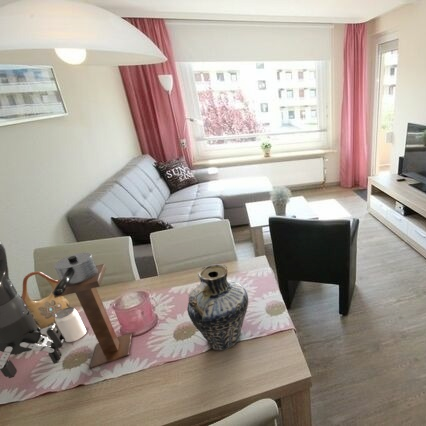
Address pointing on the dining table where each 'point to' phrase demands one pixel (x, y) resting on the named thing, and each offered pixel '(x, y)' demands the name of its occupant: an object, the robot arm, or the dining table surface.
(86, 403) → the dining table surface
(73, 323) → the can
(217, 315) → the blue patterned vase
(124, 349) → the stand
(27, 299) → the ceramic vessel
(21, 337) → the robot arm
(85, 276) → the pot
